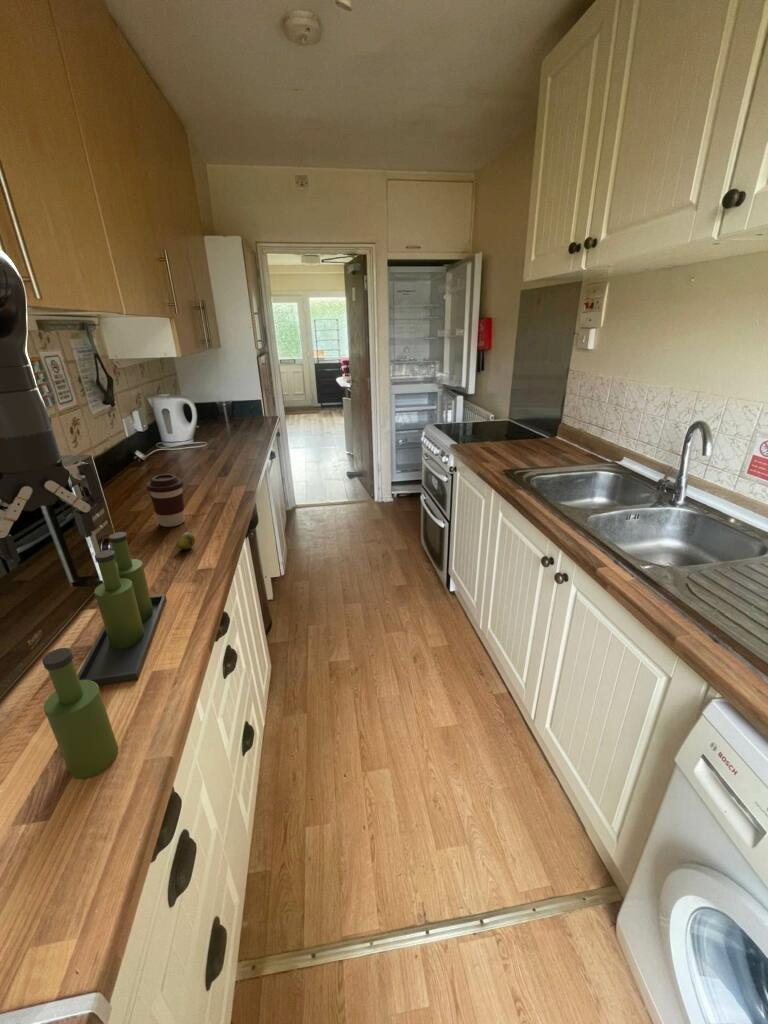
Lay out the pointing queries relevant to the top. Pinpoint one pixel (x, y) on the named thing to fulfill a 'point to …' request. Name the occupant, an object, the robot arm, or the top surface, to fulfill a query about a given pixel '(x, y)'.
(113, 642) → the bottle mid
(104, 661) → the tray
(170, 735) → the top surface
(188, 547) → the lime
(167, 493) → the coffee cup
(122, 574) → the bottle far
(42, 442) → the robot arm
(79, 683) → the bottle loose
